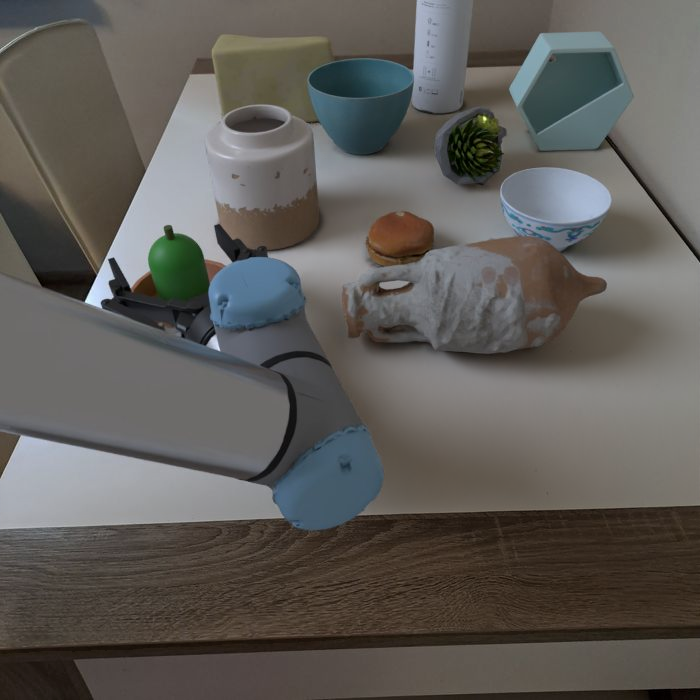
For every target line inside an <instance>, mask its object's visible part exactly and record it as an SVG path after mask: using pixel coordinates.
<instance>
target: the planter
mask: <svg viewBox="0 0 700 700" xmlns="http://www.w3.org/2000/svg"><path fill="white" fill-rule="evenodd" d="M617 52H618V51H617V49H616V48H615V46H614V45H613V44H612V42H611V41H610V40H609V39H608V38H607V37H606V35H605V34H604V33H603V32H602V31H598V30H597V31H568V32H564V31H563V32H541V33H539V35H538V36H537V38H536V40H535V42H534V44H533V45H532V47H531V49H530V50H529V52H528V54H527V56H526V57H525V60H524V62H523V63H522V65H521V67H520V69H518V72H517V74H516V76H515V77H514V79H513V81H512V83H511V85H510V86H509V88H508V91H509V93H510V95H511V97H512V100H513V102H514V104H515V107H516V109H517V111H518V112H519V114H520V116H521V118H522V120H523V122H524V125H526V127H527V129H528V132H529V133H530V135H531V137H532V139H533V141H534V142H535V145H536V146H537V148H538V150H539V151H541V152H547V151H548V152H549V151H550V152H551V151H586V150H589V151H590V150H597V149H599V148H600V146H601V145H602V143H603V142H604V141H605V138H607V136H608V134H609V133H610V132H611V130H612V129H613V127H614V126H615V125H616V124H617V122H618V121H619V120H620V118H621V117H622V115H623V114H624V112H625V111H626V109H627V108H628V106H629V105H630V103H631V102H632V100H633V99H634V98H635V96H634V93H633V90H632V87H631V85H630V82H629V80H628V78H627V75H626V73H625V70H624V67H623V65H622V62H621V60H620V58H619V55H618V53H617ZM552 56H555V59H554V60H552V61H550V59H551V57H552Z"/></svg>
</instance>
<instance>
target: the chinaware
mask: <svg viewBox="0 0 700 700" xmlns="http://www.w3.org/2000/svg"><path fill="white" fill-rule="evenodd" d="M499 192H500V194H499V195H500V204H501V205H500V206H501V209H502V214H503V216H504V218H505V221H506V222H507V224H508V226H509V227H510V229H511V230H512V232H514V233H515V234H516V235H517V237H520V236H531V237H537V238H540V239H543V240H545V241H546V242H548V243H550V244H551V245H552V246H554V247H555V248H556V249H557V250H558V251H559V252H560V253H561V252H562V251H564V250H566V249H567V248H568V247H570V246H572V245H575V244H577V243H579V242H581V241H583V240H584V239H587V238H588V237H589V236H590V235H591V234H593V233H594V232H595V231H596V230H597V229H598V228H599V226H600V225H601V224H602V223H603V221H604V219H605V218H606V217H607V215H608V213H609V212H610V209H611V207H612V203H613V197H612V194H611V192H610V190H609V189H608V188H607V187H606V186H605V185H604V184H603V183H602V182H600V181H599V180H598V179H596V178H594V177H592V176H590V175H588V174H586V173H582V172H579V171H576V170H572V169H569V168H568V169H567V168H562V167H548V166H547V167H545V166H544V167H541V166H540V167H534V168H527V169H523V170H519V171H516V172H514V173H512V174H510V175H509V176H507V178H505V179H504V180H503V182H502V183H501V185H500V190H499Z"/></svg>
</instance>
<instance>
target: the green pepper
mask: <svg viewBox="0 0 700 700" xmlns="http://www.w3.org/2000/svg"><path fill="white" fill-rule="evenodd" d="M163 232H164V235H162V236H160V237H159V238H158V239H157V240H155V241H154V242H153V243H152V245H151V247H150V248H149V252H148V256H147V264H148V267H149V271H151V275H152V278H153V282H154V285H155V288H156V292H157V295H158V298H161V299H165V300H171V299H172V298H176V299H181V300H185V301H188V299H189V298H191V297H195V296H200V295H203V294H204V293H206V292H208V291H209V286H210V282H209V278H208V273H207V269H206V264H205V260H204V259H205V255H204V252H203V249H202V248H201V246H200V245H199V243H197V241H196V240H194V239H193V238H192V237H191V236H188V235H187V234H183V233H179V232H177V233H176V232H174V229H173V226H172V225H171V224H166V225H164V226H163Z"/></svg>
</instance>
